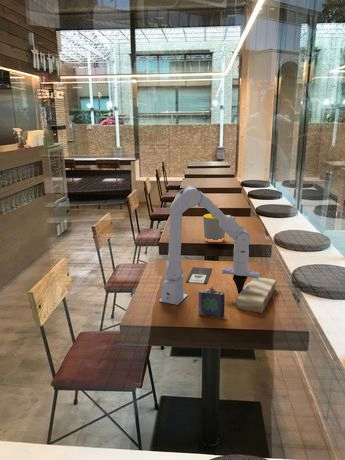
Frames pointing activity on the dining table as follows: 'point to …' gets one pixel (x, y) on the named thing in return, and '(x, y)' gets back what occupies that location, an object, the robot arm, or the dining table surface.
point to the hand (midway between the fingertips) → (240, 293)
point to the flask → (211, 303)
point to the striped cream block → (256, 294)
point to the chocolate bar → (199, 275)
